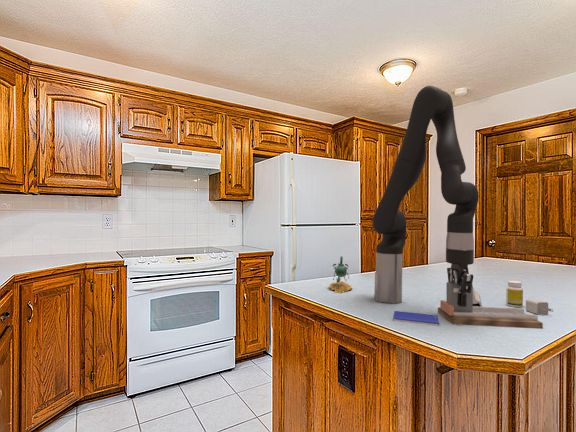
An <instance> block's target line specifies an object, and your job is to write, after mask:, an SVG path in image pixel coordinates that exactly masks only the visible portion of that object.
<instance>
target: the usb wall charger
mask: <svg viewBox="0 0 576 432" xmlns="http://www.w3.org/2000/svg"><path fill="white" fill-rule="evenodd" d="M525 311H526V312H529V313H531V312H532V314H533V315H537V316H543V315H545V316H546V315H548V314H549V312H551V313H552V312H554V309H553V308H550V307H549V303H548V302H547V301H543V300H539V299H536V298H527V299H526V300H525Z"/></svg>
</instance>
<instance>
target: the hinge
mask: <svg viewBox="0 0 576 432" xmlns="http://www.w3.org/2000/svg"><path fill="white" fill-rule="evenodd" d="M476 304H479V307H483V304H482V298H481V295H480V293H479V292H477V291H475V288H474V287H473V305H476Z"/></svg>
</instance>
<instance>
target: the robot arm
mask: <svg viewBox="0 0 576 432" xmlns="http://www.w3.org/2000/svg"><path fill="white" fill-rule="evenodd" d="M454 112H455V111H454V104H453V99H452V96H451V95H450V93H448V92H447V91H445V90H443V89H441V88H439V87H437V86H434V85H427V86H424V87H422V88H421V89H420V90H419V91H418V93H417V95H415V98H414V101H413V103H412V107H411V112H410V116H409V120H408V122H407V123H408V124H407V127H406V131H405V133H404V137H403V140H402V143H401V146H400V149H399V151H398V154H397V156H396V160H395V162H394V165H393V168H392V171H391V174H390V177H389V179H388V182H387V184H386V187H385V189H384V193H383V195H382V197H381V200H380V201H379V203H378V206H377V207H376V209H375V212H374V214H373V217H372V226H373V227H372V228H373V229H374V231H375V232H376V233H377V234H379V235H382V239H381V240H380V242H379V243H378V244H376V247H375V249H376V250H375V251H376V253H375V254H376V255H375V272H374V299H375V300H376V302H380V303H386V304H398V303H402V302H403V259H404V257H403V253H404V252H403V251H404V247H405V245H406V235H407V219H406V215H405V213H404V212H403V211H402V210H400V206H401V203H402V201H403V200H404V198H405V196H406V195H407V194H408V193H409V191H410V190H411V189H412V188H413V187H414V186H415V184H416V183H417V182H418V179H419V178H420V176H421V174H422V172H423V169H424V165H425V164H426V159H427V138H426V137H427V131H428V129H429V125H430V122H432V123H433V125H434V127H435V131H436V144H435V145H436V146H435V154H436V160H437V163H438V166H439V170H440V174H441V175H440V190H441V191H440V192H441V196H442V197H443V199H444V201H445V202H446V203H447V204H449V205H455V208H454V211H453V212H451V213H449V214H448V216H447V219H446V220H447V221H446V238H445V262H446V263H447V264H450V267H447V268H446V274H447V282H451V283H455V284H456V285H457V286H458V306H460V307H466V303H467V294H468V293H471V288H472V285H473V281H474V274H471V273H470V271H469V265H470V266H471V265H473V264H474V259H475V257H474V256H475V255H474V254H475V253H474V252H475V239H474V217H475V214H476V210H477V207H478V202H479V190H478V188H477V186H476V185H475V184H474V183H472V182H467V181H463V180H462V175H463V174H464V173H465V172H466V169H467V168H466V166H467V165H466V163H465V160H464V159H465V158H464V156H463V153H462V150H461V147H460V142H459V139H458V134H457V128H456V121H455V113H454ZM459 282H462V283H459ZM464 287H465V289H464Z"/></svg>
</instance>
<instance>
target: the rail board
mask: <svg viewBox="0 0 576 432" xmlns="http://www.w3.org/2000/svg"><path fill="white" fill-rule="evenodd" d="M439 301H440V305H439V307H438V308H437V313H439V315H441V316H442V317H443V318H445V319H446V320H447V321H448V322H449V323H451V324H452V325H467V326H468V325H469V326H487V327H488V326H491V327H505V328H506V327H508V328H526V329H527V328H528V329H543V327H544V324H543V322H542V321H540V320H539V315H537V314H527V313H525V309H524V308H521V307H494V306H493V307H492V306H482V307H480V306H473V312H463V311H454V307H453V306H452V305H450V304H449V303H447V300H443V299H442V300H439Z"/></svg>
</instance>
